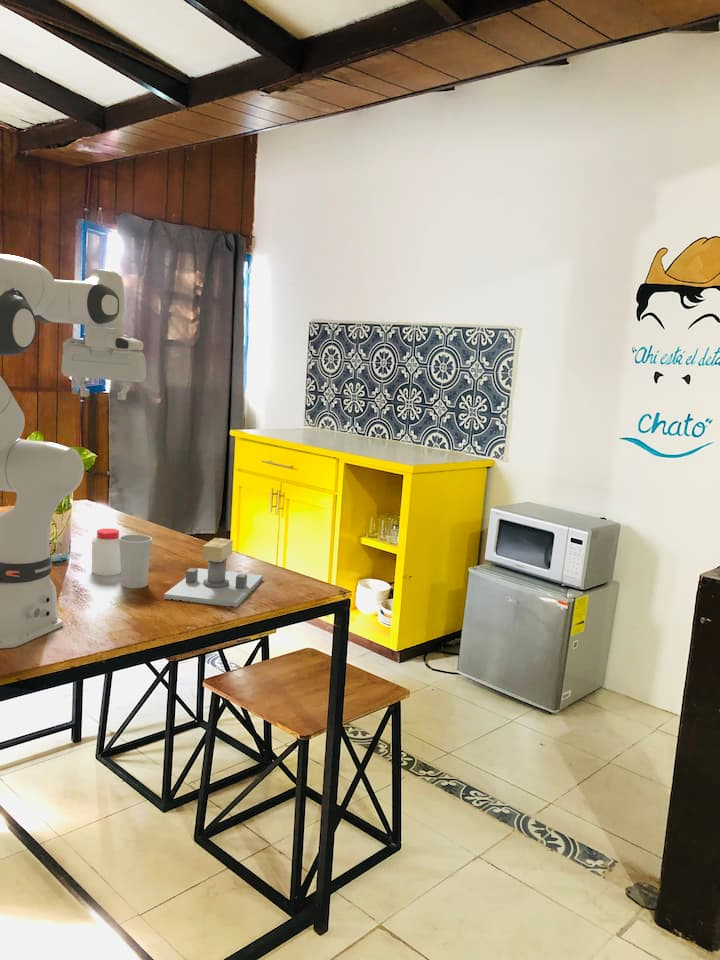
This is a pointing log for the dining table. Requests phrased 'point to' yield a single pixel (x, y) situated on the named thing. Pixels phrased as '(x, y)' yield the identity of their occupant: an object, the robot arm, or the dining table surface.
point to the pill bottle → (106, 553)
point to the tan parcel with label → (217, 550)
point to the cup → (134, 560)
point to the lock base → (214, 586)
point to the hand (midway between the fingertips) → (103, 398)
